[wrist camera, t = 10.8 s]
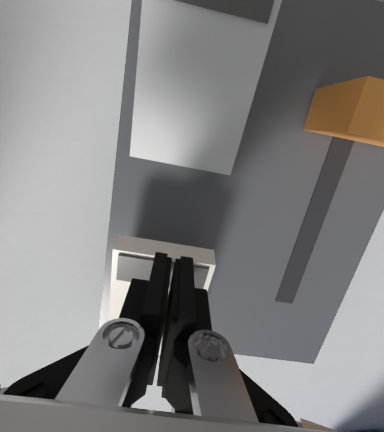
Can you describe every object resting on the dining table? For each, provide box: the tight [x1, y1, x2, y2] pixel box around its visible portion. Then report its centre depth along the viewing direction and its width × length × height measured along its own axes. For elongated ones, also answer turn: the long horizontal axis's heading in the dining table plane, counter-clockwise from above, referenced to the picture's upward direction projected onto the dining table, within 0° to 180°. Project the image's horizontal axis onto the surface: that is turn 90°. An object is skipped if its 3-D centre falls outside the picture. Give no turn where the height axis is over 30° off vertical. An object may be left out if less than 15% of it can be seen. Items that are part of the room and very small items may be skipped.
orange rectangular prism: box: [303, 76, 384, 147], centre depth 12 cm, size 2×5×4 cm, turn 79°
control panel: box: [99, 0, 384, 364], centre depth 17 cm, size 22×16×4 cm
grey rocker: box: [130, 0, 282, 175], centre depth 11 cm, size 8×5×1 cm, turn 169°
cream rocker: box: [109, 235, 216, 355], centre depth 15 cm, size 8×5×1 cm, turn 169°
